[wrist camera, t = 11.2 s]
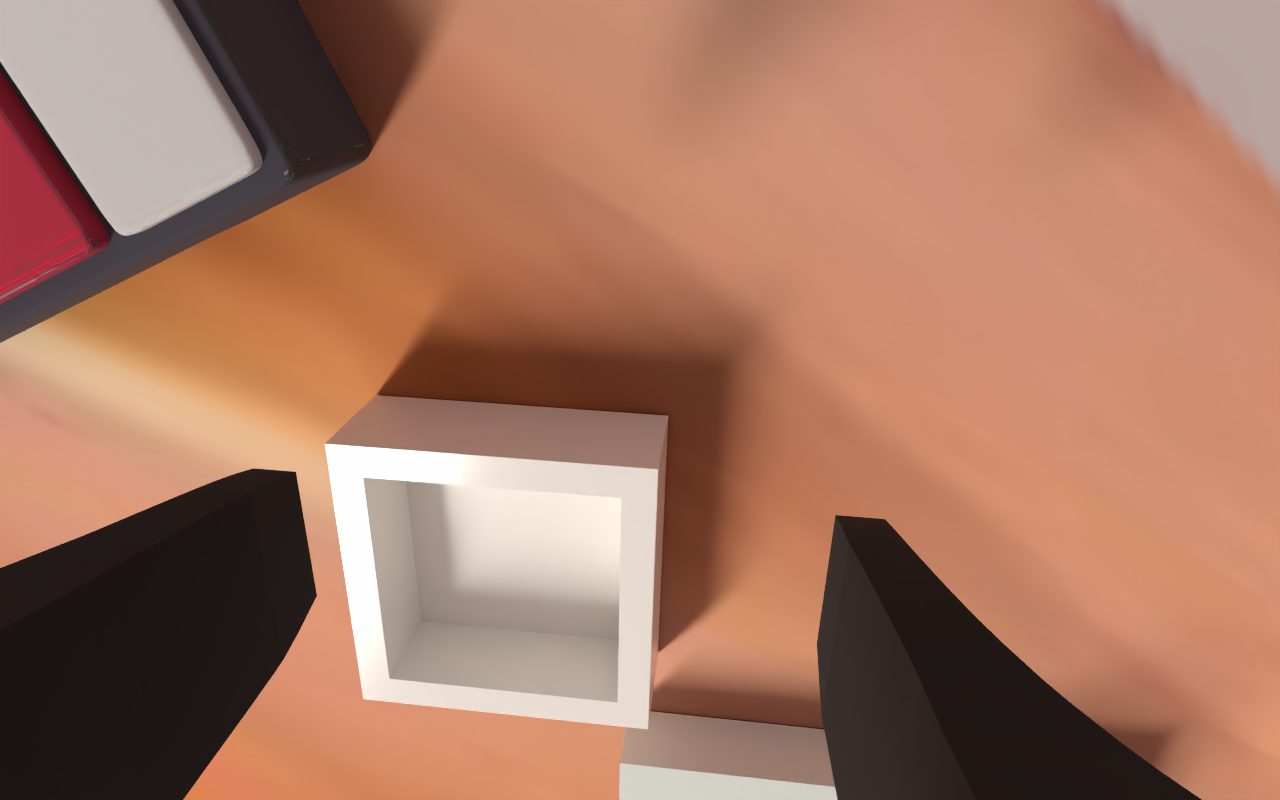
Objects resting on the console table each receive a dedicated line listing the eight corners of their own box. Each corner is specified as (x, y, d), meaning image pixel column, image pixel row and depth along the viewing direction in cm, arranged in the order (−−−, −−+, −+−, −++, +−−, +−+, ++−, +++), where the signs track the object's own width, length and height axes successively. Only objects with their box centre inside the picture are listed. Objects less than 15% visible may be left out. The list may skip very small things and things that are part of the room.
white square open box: (668, 415, 20) (658, 469, 17) (658, 654, 23) (647, 729, 21) (375, 395, 21) (325, 444, 18) (403, 629, 24) (363, 698, 21)
